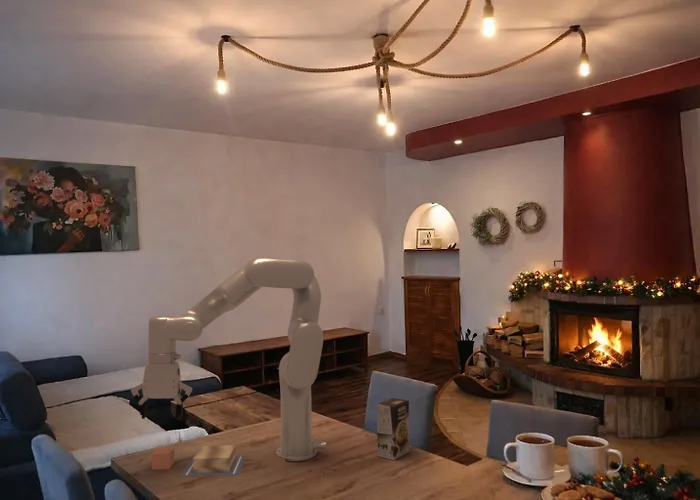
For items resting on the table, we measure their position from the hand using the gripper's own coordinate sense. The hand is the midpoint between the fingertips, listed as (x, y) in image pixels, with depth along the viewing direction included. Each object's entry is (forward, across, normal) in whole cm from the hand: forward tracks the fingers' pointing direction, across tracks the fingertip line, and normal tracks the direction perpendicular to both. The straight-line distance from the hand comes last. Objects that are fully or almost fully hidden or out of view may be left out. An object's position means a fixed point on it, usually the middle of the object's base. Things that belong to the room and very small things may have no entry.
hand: (161, 417), depth 158 cm
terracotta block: (+15, -1, 0) cm, 15 cm away
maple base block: (+14, -16, +1) cm, 21 cm away
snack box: (+14, -69, -7) cm, 71 cm away
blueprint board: (+15, -16, +1) cm, 22 cm away
